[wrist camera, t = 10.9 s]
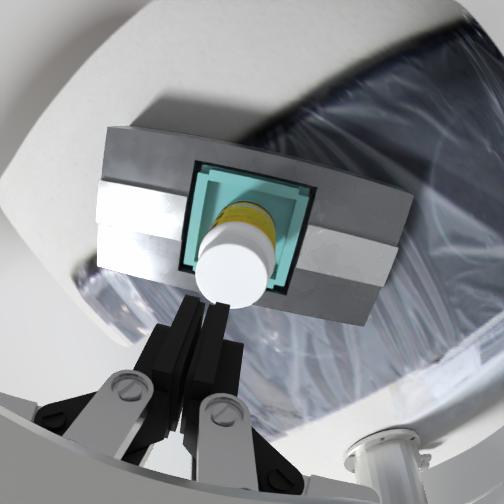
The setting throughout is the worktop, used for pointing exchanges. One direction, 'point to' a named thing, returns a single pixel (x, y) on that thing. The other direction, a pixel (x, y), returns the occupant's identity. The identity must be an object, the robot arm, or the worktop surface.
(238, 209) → the supplement bottle
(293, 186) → the tray
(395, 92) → the worktop surface
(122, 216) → the block
